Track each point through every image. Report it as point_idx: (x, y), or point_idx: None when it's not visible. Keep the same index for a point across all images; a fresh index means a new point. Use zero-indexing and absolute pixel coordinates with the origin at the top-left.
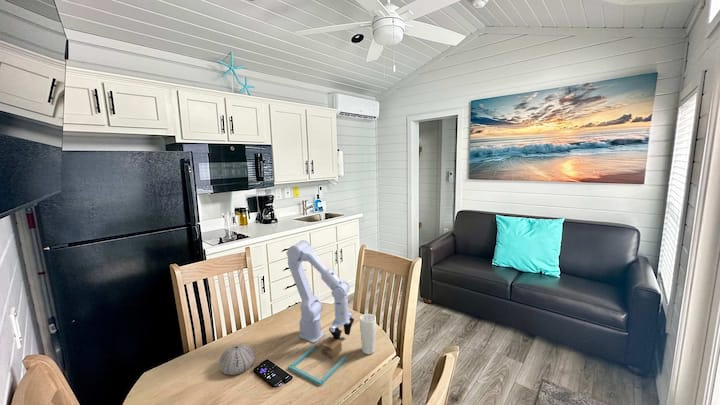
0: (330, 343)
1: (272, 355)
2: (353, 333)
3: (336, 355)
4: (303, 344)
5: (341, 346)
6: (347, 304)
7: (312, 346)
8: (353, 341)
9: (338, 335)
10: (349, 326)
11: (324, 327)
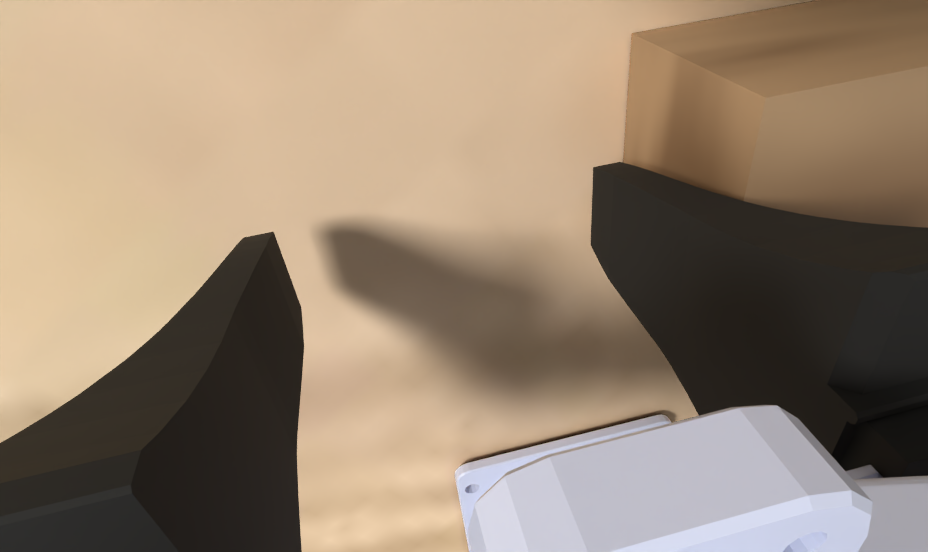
0: (915, 209)
1: None
2: (82, 243)
3: (792, 5)
4: None
5: (682, 55)
6: None
7: None
8: (264, 50)
9: (882, 228)
10: (230, 362)
11: (362, 549)
